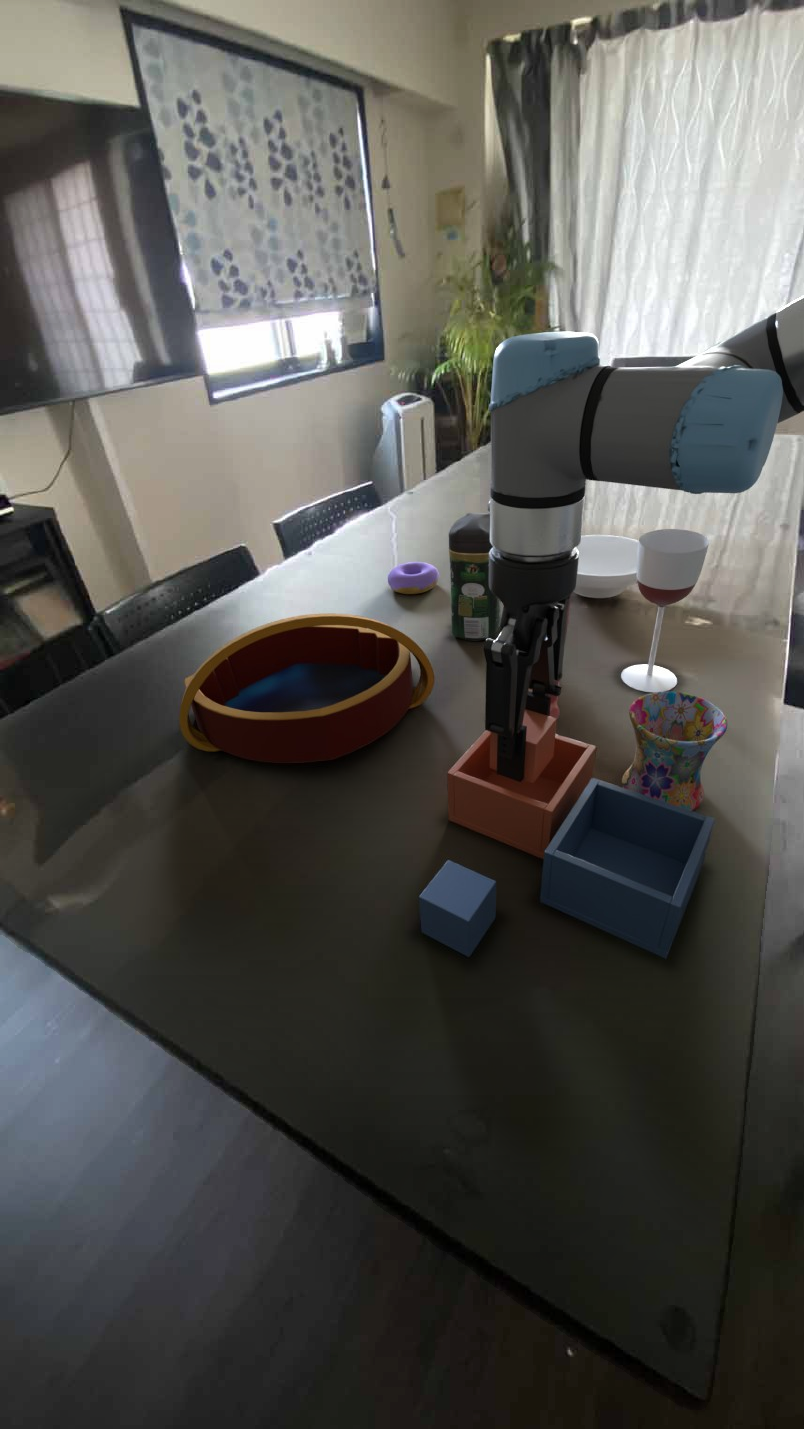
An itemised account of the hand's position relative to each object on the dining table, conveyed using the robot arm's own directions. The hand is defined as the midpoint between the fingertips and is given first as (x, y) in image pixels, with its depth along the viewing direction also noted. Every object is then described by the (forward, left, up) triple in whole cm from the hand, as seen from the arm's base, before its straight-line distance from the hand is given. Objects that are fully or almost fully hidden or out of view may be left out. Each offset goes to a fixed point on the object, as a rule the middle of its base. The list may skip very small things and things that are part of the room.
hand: (522, 760), depth 67 cm
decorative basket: (+32, -2, -7) cm, 33 cm away
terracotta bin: (0, 0, -7) cm, 7 cm away
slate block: (-2, +17, -7) cm, 18 cm away
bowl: (+13, -58, -7) cm, 60 cm away
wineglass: (-4, -33, -7) cm, 34 cm away
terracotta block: (0, 0, 0) cm, 0 cm away
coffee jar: (+25, -35, -7) cm, 44 cm away
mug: (-12, -11, -7) cm, 18 cm away
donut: (+44, -45, -7) cm, 63 cm away
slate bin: (-13, +5, -7) cm, 16 cm away
